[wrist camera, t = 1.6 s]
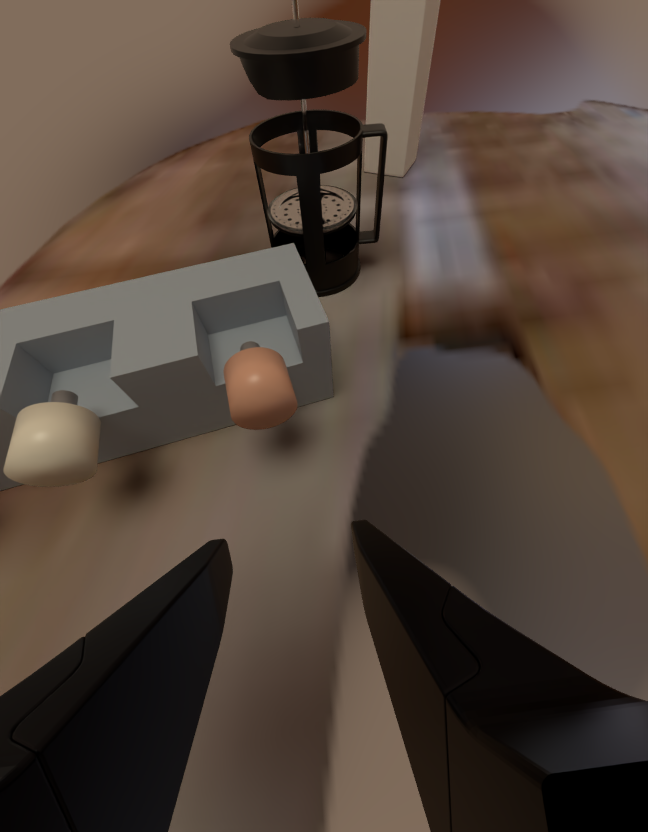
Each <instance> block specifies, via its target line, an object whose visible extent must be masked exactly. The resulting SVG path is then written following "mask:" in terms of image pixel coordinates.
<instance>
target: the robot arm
mask: <svg viewBox="0 0 648 832" xmlns="http://www.w3.org/2000/svg"><path fill="white" fill-rule="evenodd" d="M351 530H352V538H353V547H354V554H355V560H356V566H357V572H358V577H359V583H360V589H361V594H362V600H363V605H364V610H365V614H366V618H367V622H368V625H369V628H370V632H371V635H372V638H373V641H374V645H375V648H376V651H377V655H378V658H379V662H380V665H381V668H382V671H383V675H384V678H385V681H386V685H387V688H388V691H389V695H390V698H391V701H392V705H393V708H394V711H395V715H396V718H397V721H398V724H399V728H400V731H401V734H402V738H403V741H404V744H405V748H406V751H407V754H408V757H409V761H410V764H411V768H412V771H413V774H414V777H415V781H416V783H417V787H418V791H419V794H420V797H421V801H422V804H423V807H424V811H425V814H426V817H427V820H428V824H429V827H430V830H431V832H648V701H645V700H641V699H638V698H635V697H632V696H629V695H627V694H624V693H621V692H619V691H617V690H615V689H613V688H611V687H609V686H607V685H605V684H603V683H601V682H600V681H598V680H596V679H594V678H593V677H591V676H589V675H587V674H586V673H584V672H583V671H581V670H580V669H578V668H576V667H575V666H573V665H572V664H570V663H568V662H567V661H565V660H564V659H562V658H560V657H559V656H557V655H556V654H554V653H552V652H551V651H549V650H547V649H546V648H544V647H543V646H541V645H540V644H538V643H536V642H535V641H533V640H532V639H530V638H528V637H527V636H525V635H524V634H522V633H520V632H519V631H517V630H516V629H514V628H512V627H511V626H509V625H508V624H506V623H505V622H503V621H502V620H500V619H499V618H497V617H496V616H494V615H493V614H491V613H490V612H488V611H487V610H485V609H484V608H482V607H481V606H480V605H478V604H477V603H475V602H474V601H473V600H471V599H470V598H468V597H467V596H466V595H464V594H463V593H462V592H461V591H459V590H458V589H457V588H455V587H454V586H451V584H450V583H448V582H447V581H446V580H445V579H443V578H442V577H441V576H439V575H438V574H437V573H435V572H434V571H433V570H431V569H430V568H429V567H428V566H426V565H425V564H423V563H422V562H421V561H420V560H418V559H417V558H416V557H414V556H413V555H412V554H410V553H409V552H408V551H407V550H405V549H404V548H403V547H401V546H400V545H399V544H397V543H396V542H394V541H393V540H392V539H391V538H389V537H388V536H387V535H386V534H384V533H383V532H382V531H380V530H379V529H377V528H376V527H375V526H374V525H372V524H371V523H370V522H368V521H367V520H358V521H353V522H352V523H351ZM232 575H233V567H232V561H231V557H230V552H229V548H228V544H227V541H226V540H225V539H217V540H211V541H209V542H207V543H206V544H205V545H203V546H202V547H201V548H199V549H198V550H197V551H195V552H194V553H193V554H191V555H190V556H189V557H187V558H186V559H185V560H183V561H182V562H181V563H179V564H178V565H177V566H175V567H174V568H173V569H171V570H170V571H169V572H168V573H166V574H165V575H164V576H162V577H161V578H160V579H158V580H157V581H156V582H154V583H153V584H152V585H150V586H149V587H148V588H146V589H145V590H144V591H142V592H141V593H140V594H138V595H137V596H136V597H134V598H133V599H132V600H130V601H129V602H128V603H126V604H125V605H124V606H122V607H121V608H120V609H119V610H117V611H116V612H115V613H113V614H112V615H111V616H109V617H108V618H107V619H105V620H104V621H103V622H101V623H100V624H99V625H97V626H96V627H95V628H93V629H92V630H91V631H89V632H88V633H87V634H86V636H85V637H81V638H80V639H79V640H77V641H76V642H75V643H73V644H72V645H71V646H69V647H68V648H67V649H66V650H64V651H63V652H61V653H60V654H59V655H57V656H56V657H55V658H53V659H52V660H51V661H49V662H48V663H47V664H45V665H44V666H42V667H41V668H40V669H38V670H37V671H36V672H34V673H33V674H31V675H30V676H29V677H27V678H26V679H24V680H23V681H21V682H20V683H19V684H17V685H16V686H14V687H13V688H11V689H10V690H9V691H7V692H6V693H4V694H3V695H1V696H0V832H168V830H169V826H170V823H171V819H172V815H173V812H174V808H175V804H176V801H177V797H178V794H179V790H180V786H181V783H182V779H183V776H184V772H185V768H186V765H187V761H188V757H189V754H190V750H191V747H192V743H193V739H194V736H195V732H196V729H197V725H198V721H199V718H200V714H201V710H202V707H203V703H204V700H205V696H206V692H207V689H208V685H209V681H210V678H211V674H212V671H213V667H214V663H215V660H216V656H217V653H218V649H219V645H220V641H221V637H222V633H223V628H224V623H225V617H226V611H227V605H228V599H229V593H230V587H231V581H232Z"/></svg>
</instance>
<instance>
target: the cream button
mask: <svg viewBox="0 0 648 832" xmlns="http://www.w3.org/2000/svg"><path fill="white" fill-rule="evenodd" d="M77 404H78V396H77V395H76V394H75V393H73V392H71V391H66V390H59V391H56V392H54V393H53V394H52V398H51V402H44V403H38V404H33V405H30V406H28V407H25V408H24V409H22V410H21V411H20V412H19V413H18V415H17V418H16V422H15V426H14V429H13V433H12V437H11V441H10V445H9V449H8V453H7V457H6V461H5V465H4V470H3V471H4V474H5V475H6V476H7V477H8V478H10V479H11V480H13V481H16V482H18V483H22V484H26V485H31V486H40V487H59V486H68V485H73V484H77V483H81V482H84V481H86V480H88V479H90V478H91V477H93V476H94V475H95V474H96V471H97V462H98V450H99V439H100V427H101V421H100V419H99V417H98V416H97V415H96V414H95V413H94V412H92V411H90V410H89V409H86V408H84V407H81V406H78V405H77Z"/></svg>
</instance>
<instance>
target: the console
mask: <svg viewBox="0 0 648 832" xmlns="http://www.w3.org/2000/svg"><path fill="white" fill-rule="evenodd" d="M248 341H253V342H256V343H258V344H259V346H260V347H264V348H269V349H272V350H274V351H276V352H278V353H279V354H280V355H281V356H282V357H283V359H284V361H285V364H286V367H287V370H288V374H289V377H290V380H291V383H292V387H293V390H294V393H295V396H296V399H297V404H298V405H297V407H300V406H303V405H307V404H310V403H314V402H317V401H321V400H324V399H328V398H332V397H334V396H333V379H332V362H331V345H330V328H329V320H328V318H327V316H326V313H325V311H324V309H323V307H322V305H321V302H320V300H319V298H318V296H317V293H316V291H315V289H314V287H313V285H312V282H311V280H310V278H309V276H308V273H307V271H306V269H305V267H304V265H303V262H302V260H301V258H300V256H299V253H298V251H297V249H296V247H295V245H294V243H291V244H287V245H282V246H278V247H274V248H269V249H265V250H260V251H256V252H252V253H247V254H243V255H238V256H234V257H230V258H225V259H221V260H216V261H212V262H208V263H203V264H199V265H194V266H190V267H186V268H181V269H177V270H172V271H168V272H164V273H159V274H155V275H150V276H146V277H142V278H137V279H133V280H129V281H124V282H120V283H115V284H111V285H107V286H102V287H98V288H93V289H89V290H85V291H80V292H76V293H71V294H67V295H63V296H58V297H54V298H49V299H45V300H41V301H36V302H32V303H27V304H23V305H19V306H14V307H10V308H5V309H1V310H0V491H2V490H5V489H9V488H12V487H16V486H19V485H23V484H22V483H18V482H16V481H13V480H11V479H10V478H8V477H7V476H6V475H5V474H4V471H3V470H4V465H5V461H6V457H7V453H8V449H9V445H10V441H11V437H12V433H13V429H14V426H15V422H16V418H17V415H18V413H19V412H20V411H21V410H22V409H24V408H25V407H28V406H30V405H33V404H38V403H44V402H51V398H52V394H53V393H54V392H56V391H59V390H66V391H71V392H73V393H75V394H76V395H77V396H78V404H77V405H78V406H81V407H84V408H86V409H89V410H90V411H92V412H94V413H95V414H96V415H97V416H98V417H99V419H100V421H101V427H100V439H99V450H98V462H97V463H101V462H105V461H108V460H112V459H115V458H119V457H122V456H126V455H129V454H133V453H136V452H140V451H144V450H147V449H151V448H154V447H158V446H161V445H165V444H168V443H172V442H175V441H179V440H183V439H186V438H190V437H193V436H197V435H200V434H204V433H207V432H211V431H214V430H218V429H222V428H225V427H229V426H232V425H236V424H235V423H234V422H233V420H232V418H231V414H230V408H229V402H228V397H227V391H226V385H225V379H224V373H223V370H224V366H225V364H226V362H227V361H228V360H229V358H230V357H232V356H233V355H234V354H236V353H238V352H239V351H240V347H241V345H242V344H244V343H245V342H248Z"/></svg>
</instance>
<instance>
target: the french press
mask: <svg viewBox="0 0 648 832" xmlns="http://www.w3.org/2000/svg"><path fill="white" fill-rule="evenodd" d="M292 8H293V19H291V20H285V21H280V22H275V23H272V24H269V25H266V26H263V27H261V28H258V29H254V30H251V31H248V32H245V33H243V34H241V35H239V36H237V37H235V38H234V39H233V40H232V41H231V42H230V48H231V52H232V53H233V54H234V55H235V56H238V57H240V59H241V62H242V65H243V67H244V70H245V72H246V74H247V76H248V78H249V80H250V82H251V84H252V85H253V87H254V88H255V90H256V91H257V93H258V94H259V95H261V96H263V97H265V98H267V99H271V100H301V109H302V111H295V112H290V113H285V114H282V115H278V116H275V117H272V118H270V119H267V120H265V121H263V122H261V123H260V124H258V125H257V126H255V127H254V129H253V130H252V131H251V133H250V135H249V140H250V145H251V150H252V155H253V160H254V165H255V170H256V174H257V179H258V184H259V189H260V194H261V199H262V204H263V209H264V213H265V218H266V223H267V228H268V233H269V238H270V243H271V248H274V247H278V246H282V245H287V244H291V243H294V245H295V247H296V249H297V251H298V253H300V252H303V251H305V255H306V264H307V265H304V267H305V269H306V271H307V273H308V276H309V278H310V280H311V282H312V285H313V287H314V289H315V291H316V293H317V296H318V297H320V296H327V295H331V294H334V293H337V292H340V291H342V290H344V289H345V288H347V287H349V286H350V285H351V284H352V283H353V282H354V281H355V280H356V278H357V277H358V275H359V272H360V260H359V244H366V243H376V242H378V239H379V231H380V220H381V208H382V197H383V185H384V174H385V162H386V151H387V140H388V134H387V131H386V128H385V125H384V124H382V123H377V124H366V125H363V124H362V123H361V121H360V120H359V119H358V118H357V117H354V116H352V115H350V114H347V113H344V112H339V111H334V110H333V111H332V110H306V99H310V98H316V97H322V96H326V95H330V94H333V93H337V92H339V91H342V90H344V89H346V88H348V87H350V86H352V85H353V84H354V83H356V81H357V80H358V61H359V59H358V58H359V44H361V43H362V42H364V40H365V39H366V28H365V27H364V26H362V25H360V24H358V23H354V22H349V21H339V20H331V19H325V18H301V19H299V10H298V0H292ZM317 130H330V131H337V132H341V133H344V134H347V135H349V136H351V137H353V139H352V140H350V141H349V142H347V143H345V144H343V145H340V146H338V147H335V148H332V149H328V150H324V151H319V152H318V143H317ZM293 132H297V135H298V144H299V154H285V153H277V152H271V151H268V150H264V149H262V148H260V147H261V146H262V145H263V144H265V143H266V142H268V141H270V140H271V139H274V138H276V137H278V136H281V135H285V134H288V133H293ZM377 136H380V148H379V162H378V176H377V190H376V204H375V218H374V229H373V230H372V231H363V232H359V227H360V198H361V169H362V140H363V138H366V137H377ZM356 159H357V198H355V197H354V196H353V195H352V194H351V193H349V192H348V191H346V190H344V189H341V188H338V187H334V186H328V185H320V174H322V173H326V172H330V171H334V170H336V169H339V168H342V167H344V166H346V165H348V164H350V163H351V162H353V161H354V160H356ZM261 168H262V169H263V170H265V171H268V172H271V173H275V174H280V175H288V176H297V185H298V188H295V189H292V190H289V191H286V192H284V193H282V194H281V195H279V196H277V197H276V198H275V199H274V200H273V201H272V202H271V203H270V205H269V207H268V204H267V199H266V194H265V189H264V183H263V178H262V173H261ZM355 214H356V229H355V227H354V226H352V225H351V224H350V222H351V221H352V220H353V218H354V216H355ZM271 223H272V224H273V226H274V227H275V228H277V229H278V231H277V232H276V233H275V234H274V235H273V230H272V225H271ZM324 249H331V250H334V251H337V252H339V253H341V254H342V255H343V256H344V257H342V258H340V259H338V260H336V261H333V262H329V263H326V264H325V253H324Z"/></svg>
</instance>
